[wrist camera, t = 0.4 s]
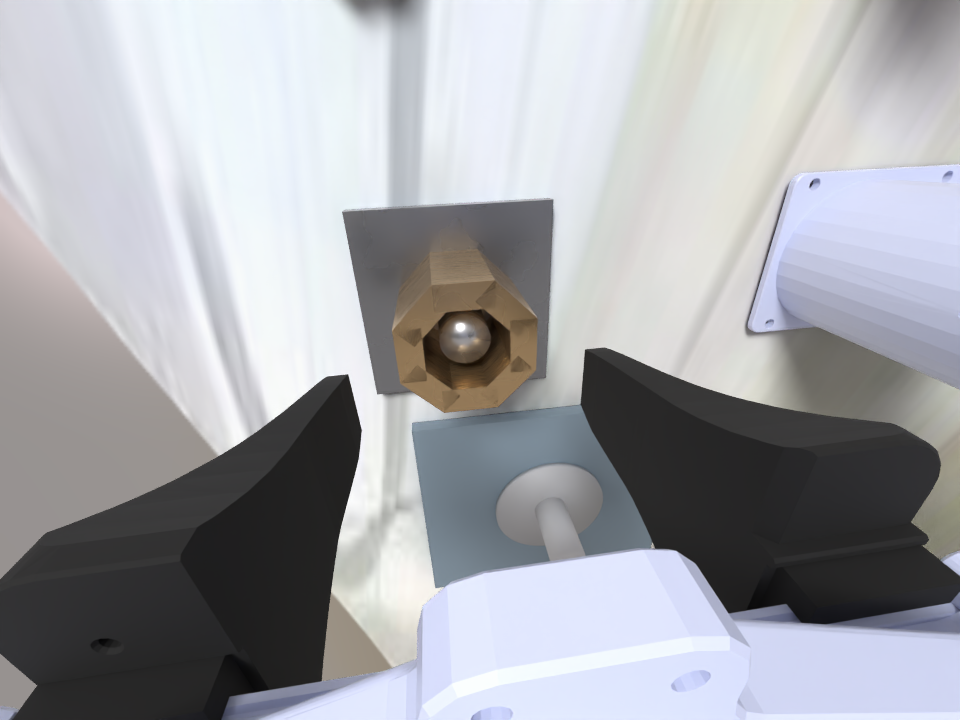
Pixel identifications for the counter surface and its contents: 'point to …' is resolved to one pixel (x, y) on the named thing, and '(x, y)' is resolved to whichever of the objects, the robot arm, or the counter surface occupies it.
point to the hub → (519, 492)
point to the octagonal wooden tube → (463, 287)
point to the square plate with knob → (447, 227)
